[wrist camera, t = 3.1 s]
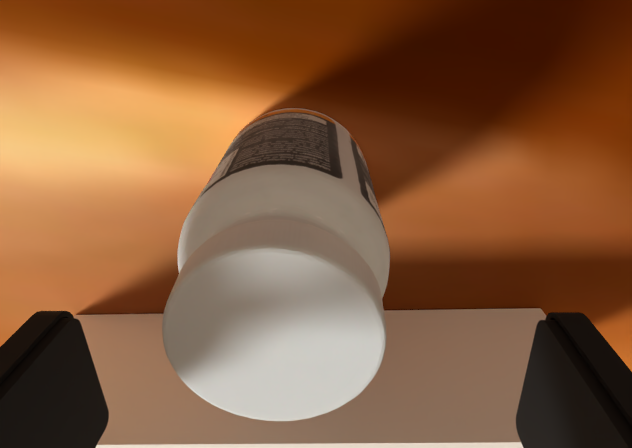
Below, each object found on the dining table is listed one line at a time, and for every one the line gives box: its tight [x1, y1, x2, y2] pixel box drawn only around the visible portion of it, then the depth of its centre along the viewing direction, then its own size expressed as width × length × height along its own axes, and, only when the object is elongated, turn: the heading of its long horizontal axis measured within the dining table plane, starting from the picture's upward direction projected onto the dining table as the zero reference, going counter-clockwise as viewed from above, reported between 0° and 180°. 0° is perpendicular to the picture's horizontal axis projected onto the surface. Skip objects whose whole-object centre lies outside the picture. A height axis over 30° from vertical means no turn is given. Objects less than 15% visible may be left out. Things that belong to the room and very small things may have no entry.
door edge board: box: [74, 308, 546, 448], centre depth 18 cm, size 3×22×7 cm, turn 92°
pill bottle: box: [162, 108, 390, 421], centre depth 14 cm, size 6×6×10 cm
